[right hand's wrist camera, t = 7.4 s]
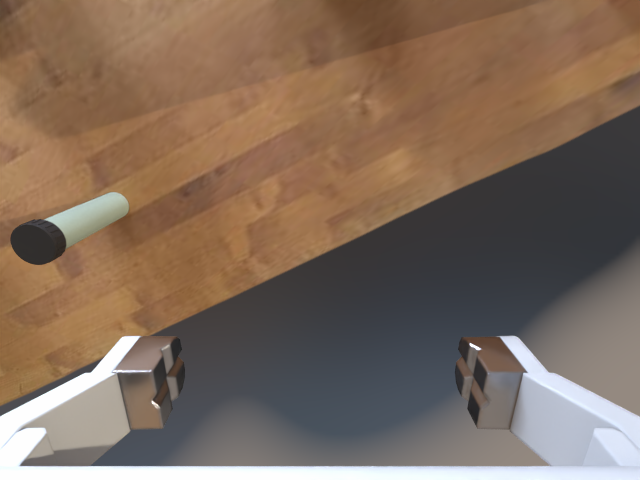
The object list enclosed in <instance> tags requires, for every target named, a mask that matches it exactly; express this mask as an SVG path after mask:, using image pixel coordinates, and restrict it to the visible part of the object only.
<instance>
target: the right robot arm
mask: <svg viewBox="0 0 640 480" xmlns="http://www.w3.org/2000/svg"><path fill="white" fill-rule="evenodd" d="M181 350H182V348H181V343H180V339H179V338H177V337H160V336H143V337H142V336H125V337H122V338H121V339H120V340H119V341H118V342H117V344H116V345H115V346H114V347H113V348H112V349H111V350H110V352H109V353H108V354H107V355H106V356H105V357H104V359H103V360H102V361H101V362H100V363H99V364H98V365H97V367H96V368H95V369H94V370H93V371H92V372H91V373H84V374H82V375H80V376H78V377H77V378H75V379H73V380H71V381H69V382H67V383H65V384H63V385H61V386H59V387H57V388H55V389H53V390H51V391H49V392H47V393H45V394H43V395H41V396H39V397H37V398H35V399H34V400H32V401H30V402H28V403H26V404H24V405H22V406H20V407H18V408H16V409H14V410H12V411H10V412H8V413H6V414H4V415H2V416H0V480H640V417H639V416H638V415H636V414H634V413H632V412H630V411H628V410H626V409H624V408H622V407H620V406H618V405H616V404H614V403H612V402H610V401H608V400H606V399H604V398H602V397H600V396H599V395H597V394H595V393H593V392H591V391H589V390H587V389H585V388H583V387H581V386H579V385H577V384H575V383H573V382H571V381H569V380H567V379H565V378H563V377H561V376H560V375H558V374H556V373H549V372H548V371H547V370H546V369H545V368H544V367H543V366H542V364H541V363H540V362H539V361H538V360H537V359H536V357H535V356H534V355H533V354H532V353H531V352H530V351H529V349H528V348H527V347H526V346H525V345H524V344H523V342H522V341H521V340H520V339H519V338H518V337H516V336H497V337H462V338H461V340H460V342H459V348H458V350H459V352H460V353H461V355H462V357H461V358H460V359H459V360H458V361H457V362H456V369H455V376H456V384H457V387H458V390H459V392H460V394H461V396H462V397H463V398H464V399H466V400H467V401H469V403H468V411H469V413H470V415H471V417H472V419H473V421H474V423H475V425H476V427H477V428H478V429H509V430H510V432H511V433H513V434H514V435H515V436H516V437H517V438H518V439H520V440H521V441H522V442H523V443H524V444H525V445H527V446H528V447H529V448H530V449H531V450H532V451H534V452H535V453H536V454H537V455H538V456H540V457H541V458H542V459H543V460H544V461H545V462H547V463H548V464H549V465H550V466H90V465H91V464H92V463H94V462H95V461H96V460H97V459H98V458H99V457H101V456H102V455H103V454H104V453H105V452H106V451H108V450H109V449H110V448H111V447H112V446H114V445H115V444H116V443H117V442H118V441H119V440H121V439H122V438H123V437H124V436H125V435H126V434H128V433H129V432H130V430H131V429H163V427H164V425H165V423H166V421H167V419H168V417H169V415H170V413H171V411H172V403H171V401H173V400H174V399H176V398H177V397H178V396H179V394H180V392H181V390H182V388H183V383H184V378H185V368H184V362H183V361H182V360H181V359H180V358H179V357H178V355H179V353H180V352H181Z"/></svg>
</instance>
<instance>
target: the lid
mask: <svg viewBox="0 0 640 480" xmlns="http://www.w3.org/2000/svg"><path fill="white" fill-rule="evenodd" d="M11 245H12V248H13V250H14V251H15V253H16V254H17V255H18V256H19V257H20V258H21V259H23V260H24V261H26V262H28V263H31V264H35V265H42V264H46V263H48V262H51V261H53V260H55V259H56V258H58V257H60V256H61V255H62V254H63V252H64V251H65V249H66V238H65V236H64V234H63V232H62V231H61V230H60V228H59V227H58V226H56V225H55V224H54V223H52V222H49V221H46V220H41V219H38V220H35V219H34V220H32V221H29V222H27V223H24V224H22V225H19V226H18V227H17V228H15V229H14V231H13V232H12V234H11Z"/></svg>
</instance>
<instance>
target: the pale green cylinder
mask: <svg viewBox="0 0 640 480" xmlns="http://www.w3.org/2000/svg"><path fill="white" fill-rule="evenodd" d="M128 211H129V204H128V201H127V200H126V198H125V197H124V196H123V195H121V194H119V193H116V192H110V193H108V194H105V195H103V196H100V197H98V198H95V199H93V200H90V201H88V202H86V203H83V204H81V205H78V206H76V207H73V208H71V209H68V210H66V211H64V212H61V213H59V214H56V215H54V216H51V217H49V218H46V219H44V220H46V221H49V222H52V223H54V224H55V225H56V226H58V227H59V228H60V230H61V231H62V232H63V234H64V236H65V238H66V249H67V248H68V247H70V246H72V245H74V244H76V243H77V242H79V241H81V240H83V239H84V238H86V237H88V236H90V235H92V234H93V233H95V232H97V231H99V230H101V229H102V228H104V227H106V226H108V225H109V224H111V223H113V222H115V221H117V220H118V219H120V218H122V217H124V216H125V215H126V214H127V213H128Z"/></svg>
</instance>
